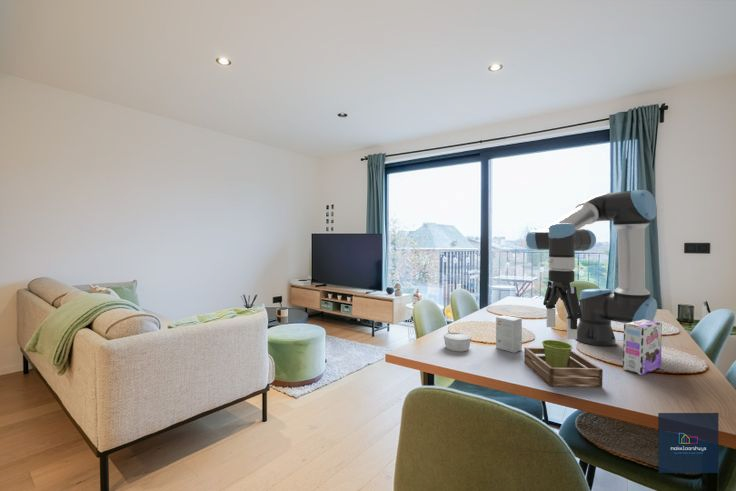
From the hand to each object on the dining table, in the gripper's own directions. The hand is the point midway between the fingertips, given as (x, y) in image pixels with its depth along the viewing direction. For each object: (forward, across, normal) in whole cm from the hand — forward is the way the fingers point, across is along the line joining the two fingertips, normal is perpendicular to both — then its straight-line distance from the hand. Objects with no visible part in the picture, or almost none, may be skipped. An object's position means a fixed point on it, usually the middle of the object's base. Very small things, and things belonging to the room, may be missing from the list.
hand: (560, 332), depth 113 cm
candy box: (+15, -6, +31) cm, 34 cm away
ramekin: (+14, -25, -29) cm, 41 cm away
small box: (+14, -25, -8) cm, 30 cm away
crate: (+14, 0, 0) cm, 14 cm away
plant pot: (+14, -4, 0) cm, 14 cm away
